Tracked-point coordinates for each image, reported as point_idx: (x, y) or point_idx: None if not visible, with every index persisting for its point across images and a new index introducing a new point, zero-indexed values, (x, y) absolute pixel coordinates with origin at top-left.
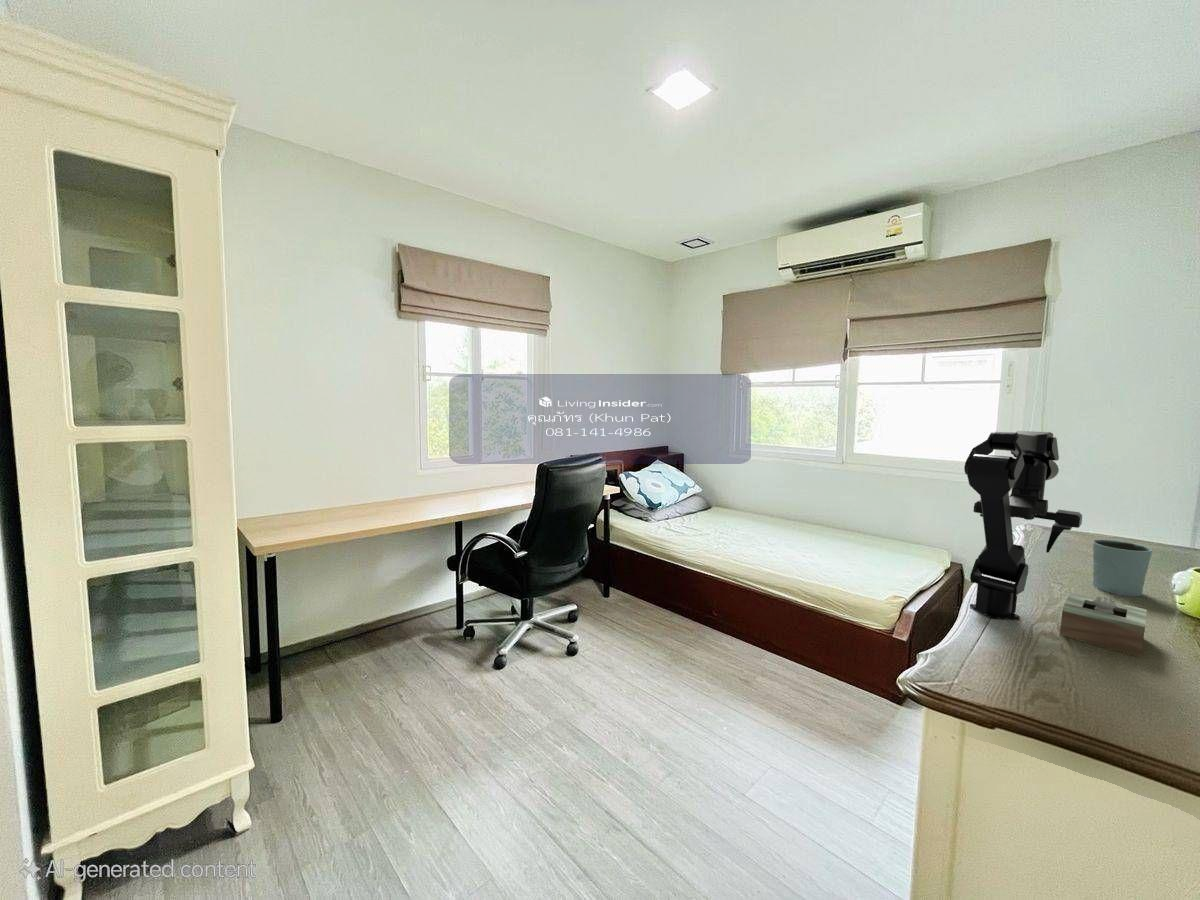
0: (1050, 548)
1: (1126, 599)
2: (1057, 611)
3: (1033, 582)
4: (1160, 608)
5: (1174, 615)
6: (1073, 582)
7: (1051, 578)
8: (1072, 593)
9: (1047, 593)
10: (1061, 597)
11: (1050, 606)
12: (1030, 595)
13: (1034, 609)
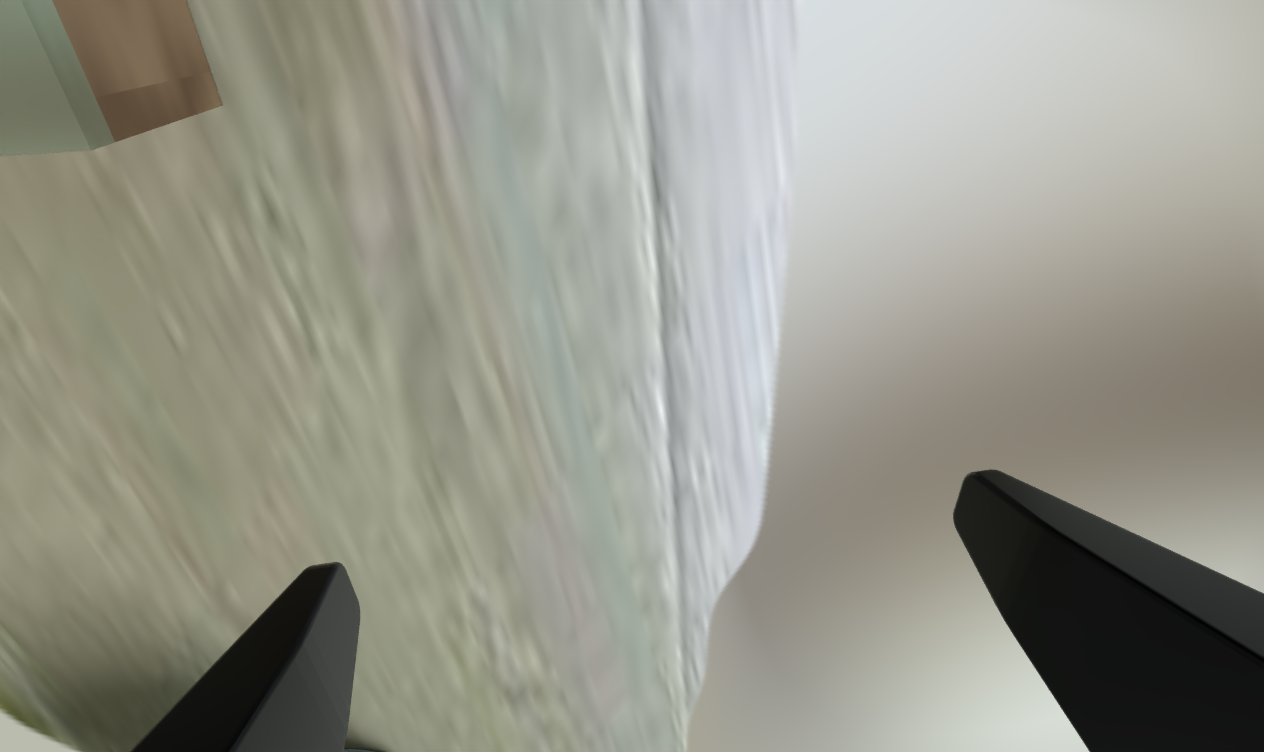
0: (250, 629)
1: None
2: (332, 220)
3: (599, 620)
4: (123, 729)
5: (35, 694)
6: (483, 748)
7: (561, 726)
8: (54, 124)
9: (501, 518)
10: (432, 516)
11: (401, 292)
12: (548, 404)
13: (435, 108)
